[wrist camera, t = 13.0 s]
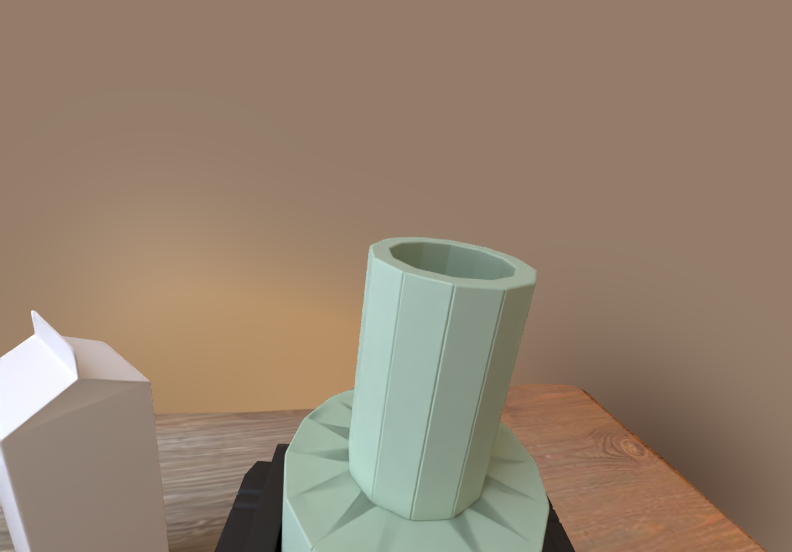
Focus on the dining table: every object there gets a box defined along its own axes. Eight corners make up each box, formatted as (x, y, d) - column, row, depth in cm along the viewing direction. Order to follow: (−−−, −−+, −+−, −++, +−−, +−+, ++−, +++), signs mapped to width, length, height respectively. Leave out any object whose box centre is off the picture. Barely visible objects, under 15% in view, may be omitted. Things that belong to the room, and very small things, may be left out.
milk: (135, 549, 29) (100, 293, 22) (176, 603, 26) (149, 328, 19) (32, 622, 25) (-54, 324, 18) (68, 699, 22) (-20, 377, 15)
